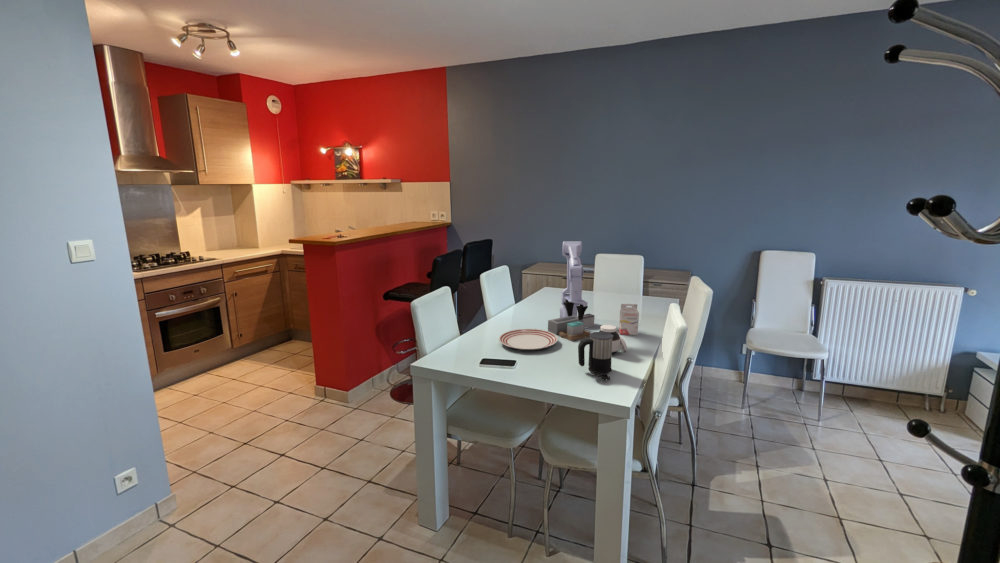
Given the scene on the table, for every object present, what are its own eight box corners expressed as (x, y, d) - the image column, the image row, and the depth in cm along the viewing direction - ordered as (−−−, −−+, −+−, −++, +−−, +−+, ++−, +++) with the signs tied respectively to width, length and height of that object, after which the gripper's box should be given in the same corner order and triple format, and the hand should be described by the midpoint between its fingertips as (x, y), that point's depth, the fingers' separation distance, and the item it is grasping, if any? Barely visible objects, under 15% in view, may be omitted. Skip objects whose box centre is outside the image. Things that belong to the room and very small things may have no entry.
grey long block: (547, 331, 240) (547, 319, 238) (573, 326, 249) (573, 314, 247) (556, 335, 234) (557, 323, 232) (582, 329, 243) (582, 317, 241)
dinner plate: (554, 356, 206) (554, 348, 205) (493, 352, 212) (493, 345, 211) (559, 336, 232) (559, 330, 232) (505, 333, 238) (505, 327, 237)
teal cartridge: (566, 335, 231) (567, 323, 230) (577, 332, 235) (577, 321, 234) (572, 337, 228) (572, 325, 227) (583, 334, 232) (583, 323, 231)
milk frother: (602, 364, 195) (603, 330, 192) (628, 377, 182) (630, 341, 179) (573, 370, 189) (574, 335, 186) (598, 385, 175) (600, 347, 172)
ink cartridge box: (620, 334, 233) (621, 306, 230) (618, 331, 238) (620, 303, 235) (638, 335, 232) (639, 306, 229) (636, 332, 237) (637, 303, 234)
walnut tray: (559, 336, 232) (559, 331, 232) (577, 331, 239) (577, 327, 238) (571, 341, 225) (571, 336, 224) (590, 336, 231) (590, 332, 231)
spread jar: (592, 351, 211) (593, 326, 209) (608, 345, 218) (609, 321, 216) (615, 358, 202) (616, 332, 199) (630, 352, 209) (632, 327, 207)
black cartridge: (578, 326, 248) (579, 315, 247) (588, 324, 252) (589, 313, 250) (584, 328, 245) (584, 317, 243) (594, 326, 248) (594, 315, 247)
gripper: (559, 289, 231) (559, 315, 234) (579, 294, 219) (579, 322, 222) (570, 287, 235) (570, 313, 237) (591, 292, 223) (590, 320, 226)
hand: (575, 317), depth 230 cm, fingers open, 7 cm apart
